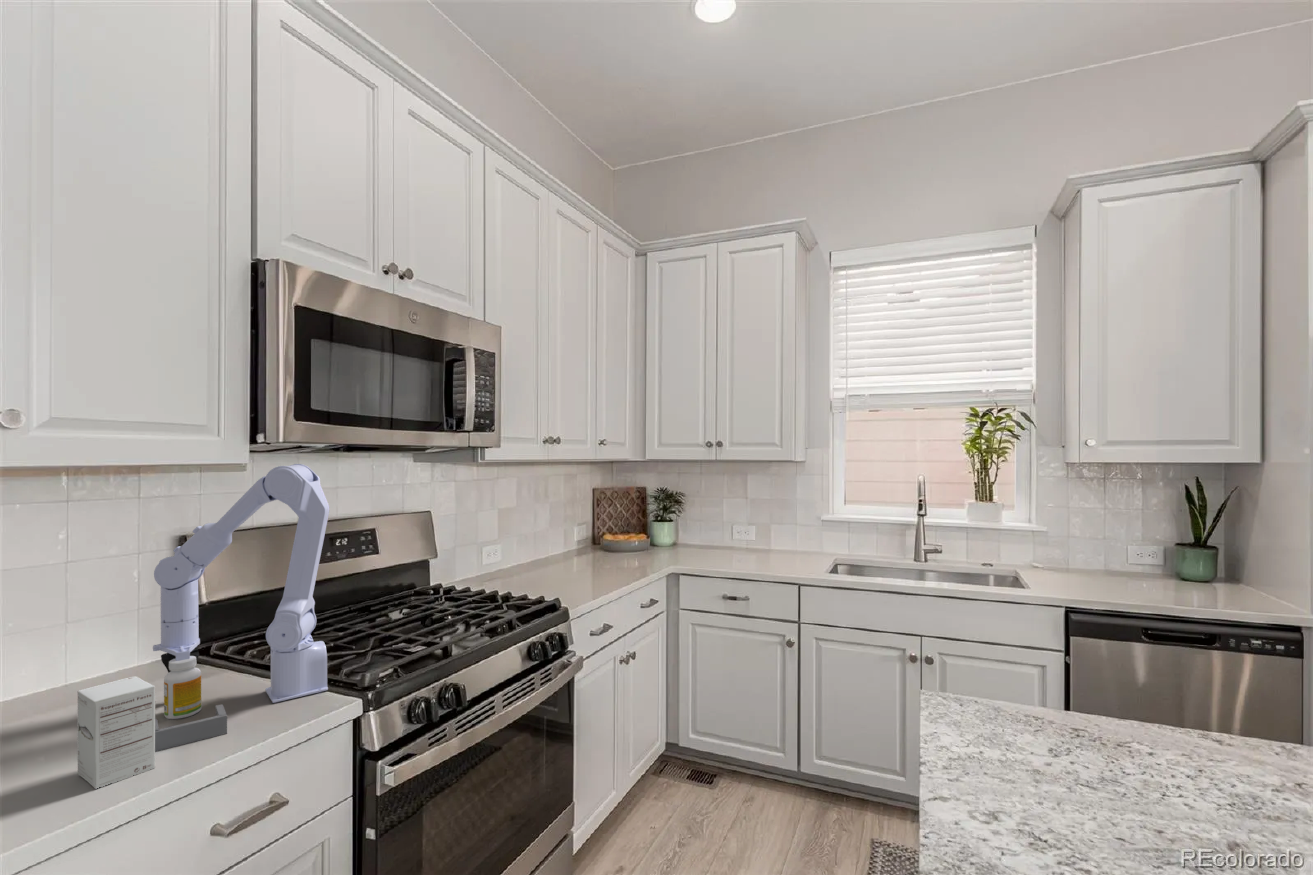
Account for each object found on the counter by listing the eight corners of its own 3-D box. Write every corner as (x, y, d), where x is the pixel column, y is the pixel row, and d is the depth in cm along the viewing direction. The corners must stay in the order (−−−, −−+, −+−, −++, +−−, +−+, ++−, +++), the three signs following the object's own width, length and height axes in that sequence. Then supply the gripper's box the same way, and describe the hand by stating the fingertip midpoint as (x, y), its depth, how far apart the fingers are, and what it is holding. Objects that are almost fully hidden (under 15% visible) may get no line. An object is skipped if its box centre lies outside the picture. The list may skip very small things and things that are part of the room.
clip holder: (222, 721, 112) (222, 704, 112) (227, 733, 107) (227, 715, 107) (149, 738, 105) (149, 720, 105) (151, 752, 101) (150, 733, 101)
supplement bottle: (208, 707, 118) (208, 654, 118) (184, 720, 112) (184, 665, 112) (181, 706, 118) (181, 653, 118) (156, 719, 113) (155, 664, 113)
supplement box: (75, 776, 94) (75, 689, 94) (138, 755, 100) (137, 674, 100) (93, 791, 90) (92, 701, 90) (156, 768, 96) (156, 684, 96)
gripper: (151, 614, 123) (151, 684, 124) (154, 631, 112) (154, 709, 112) (196, 607, 128) (196, 675, 128) (203, 624, 117) (204, 698, 117)
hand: (180, 691), depth 121 cm, fingers closed
